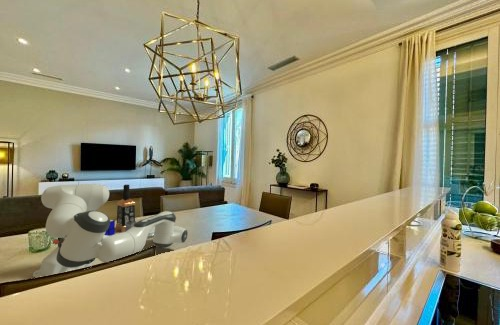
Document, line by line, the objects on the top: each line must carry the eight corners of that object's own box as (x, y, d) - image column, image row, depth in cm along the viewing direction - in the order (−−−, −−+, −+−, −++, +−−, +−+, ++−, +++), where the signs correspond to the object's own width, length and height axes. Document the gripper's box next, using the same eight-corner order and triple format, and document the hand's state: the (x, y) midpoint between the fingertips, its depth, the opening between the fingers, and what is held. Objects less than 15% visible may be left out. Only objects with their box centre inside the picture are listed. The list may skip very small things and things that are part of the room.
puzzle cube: (101, 240, 133) (102, 224, 133) (88, 238, 135) (88, 223, 135) (115, 234, 143) (115, 220, 143) (102, 233, 145) (102, 218, 145)
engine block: (130, 240, 134) (130, 223, 134) (125, 239, 136) (125, 222, 136) (137, 238, 139) (137, 221, 139) (132, 236, 141) (132, 220, 141)
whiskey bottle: (136, 229, 155) (137, 184, 154) (122, 232, 147) (122, 186, 146) (129, 225, 161) (129, 183, 160) (115, 229, 153) (115, 184, 151)
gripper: (149, 243, 118) (131, 238, 123) (175, 231, 137) (159, 227, 142) (149, 231, 118) (131, 227, 123) (175, 221, 137) (159, 218, 142)
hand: (146, 227), depth 133 cm, fingers open, 8 cm apart
